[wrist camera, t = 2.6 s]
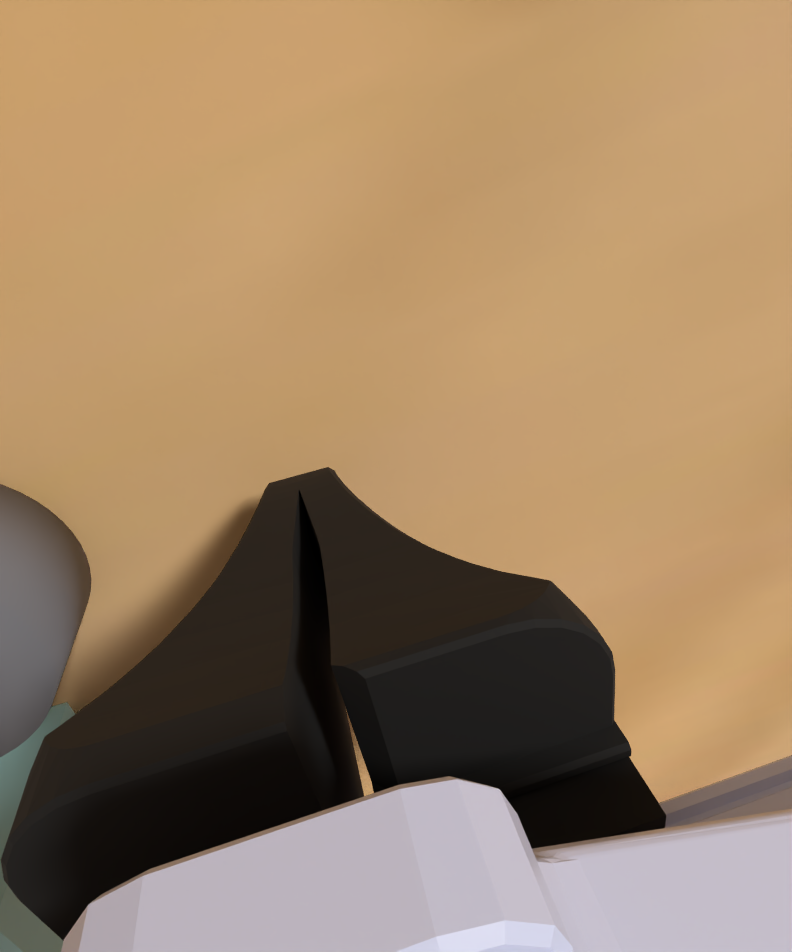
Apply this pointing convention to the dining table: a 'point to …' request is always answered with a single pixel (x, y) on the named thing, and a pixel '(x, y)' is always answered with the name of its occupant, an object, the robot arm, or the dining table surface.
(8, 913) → the block
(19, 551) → the puck
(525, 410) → the dining table surface
